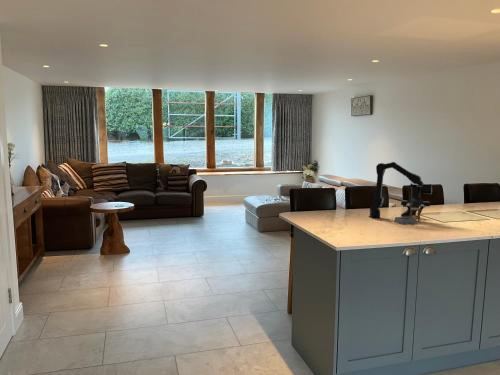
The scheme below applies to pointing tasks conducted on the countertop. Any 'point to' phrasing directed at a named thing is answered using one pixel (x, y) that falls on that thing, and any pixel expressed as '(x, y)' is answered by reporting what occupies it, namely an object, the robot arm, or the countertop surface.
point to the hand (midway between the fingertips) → (414, 215)
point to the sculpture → (406, 213)
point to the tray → (405, 220)
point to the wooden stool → (418, 212)
